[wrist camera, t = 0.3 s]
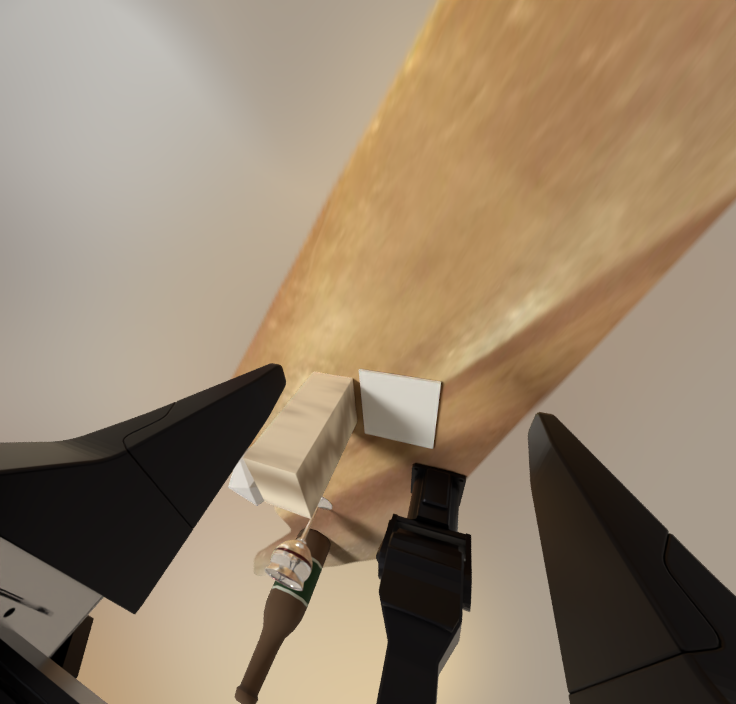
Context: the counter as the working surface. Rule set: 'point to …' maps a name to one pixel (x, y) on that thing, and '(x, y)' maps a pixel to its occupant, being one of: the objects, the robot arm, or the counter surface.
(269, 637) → the beer bottle
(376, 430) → the mat
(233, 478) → the die
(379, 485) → the counter surface
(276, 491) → the birch block
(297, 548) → the wineglass
